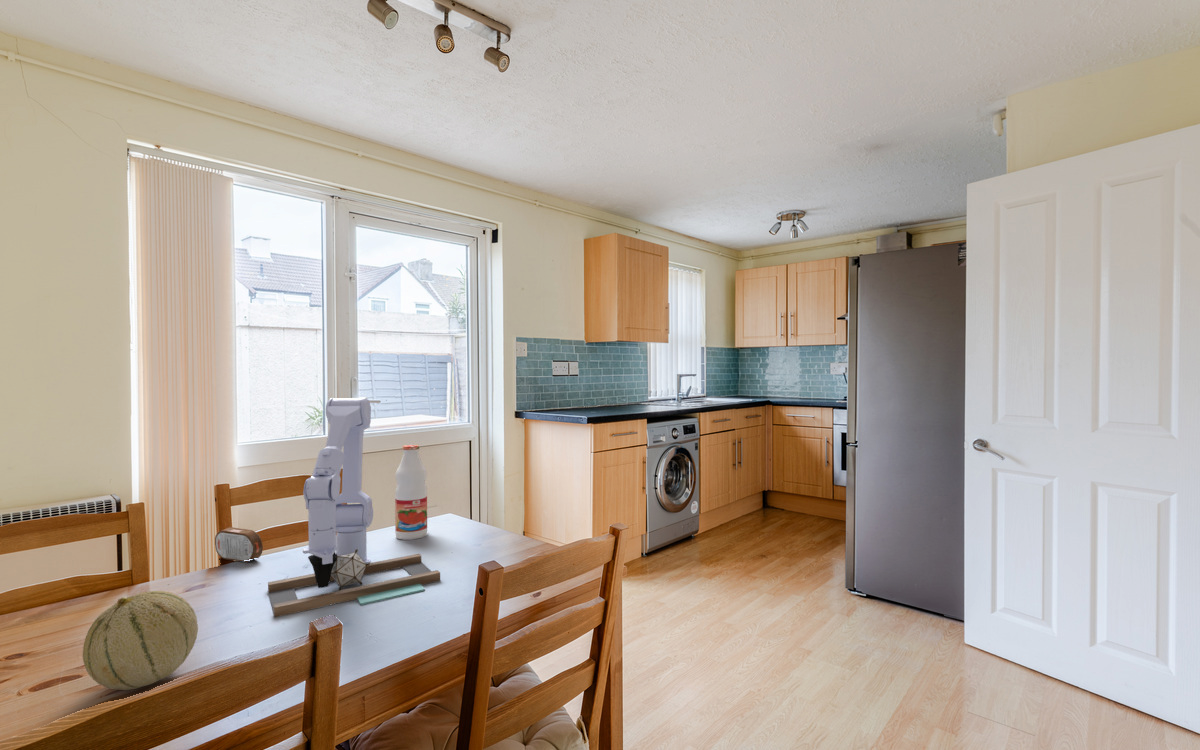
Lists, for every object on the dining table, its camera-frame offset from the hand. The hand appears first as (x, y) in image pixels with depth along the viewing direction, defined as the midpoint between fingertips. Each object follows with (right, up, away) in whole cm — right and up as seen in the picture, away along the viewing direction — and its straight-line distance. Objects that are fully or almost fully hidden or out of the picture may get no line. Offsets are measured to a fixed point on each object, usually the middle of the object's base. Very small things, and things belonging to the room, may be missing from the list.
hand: (322, 586), depth 129 cm
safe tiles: (+10, -1, +7) cm, 13 cm away
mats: (+6, -1, +4) cm, 7 cm away
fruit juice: (+6, -1, +44) cm, 45 cm away
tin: (-34, -2, +23) cm, 41 cm away
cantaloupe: (-11, -2, -37) cm, 39 cm away
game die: (+4, -2, +4) cm, 6 cm away
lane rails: (+6, -1, +4) cm, 7 cm away
